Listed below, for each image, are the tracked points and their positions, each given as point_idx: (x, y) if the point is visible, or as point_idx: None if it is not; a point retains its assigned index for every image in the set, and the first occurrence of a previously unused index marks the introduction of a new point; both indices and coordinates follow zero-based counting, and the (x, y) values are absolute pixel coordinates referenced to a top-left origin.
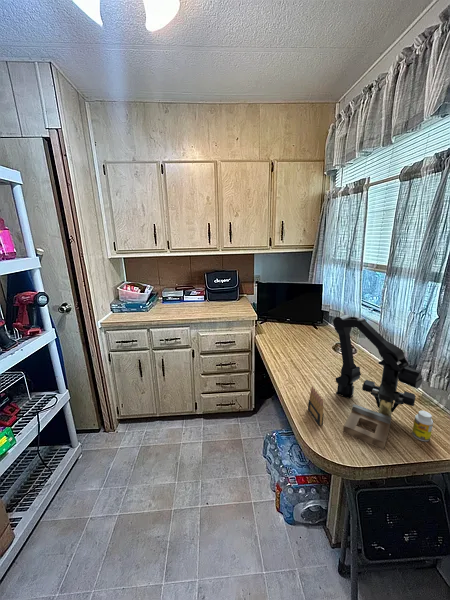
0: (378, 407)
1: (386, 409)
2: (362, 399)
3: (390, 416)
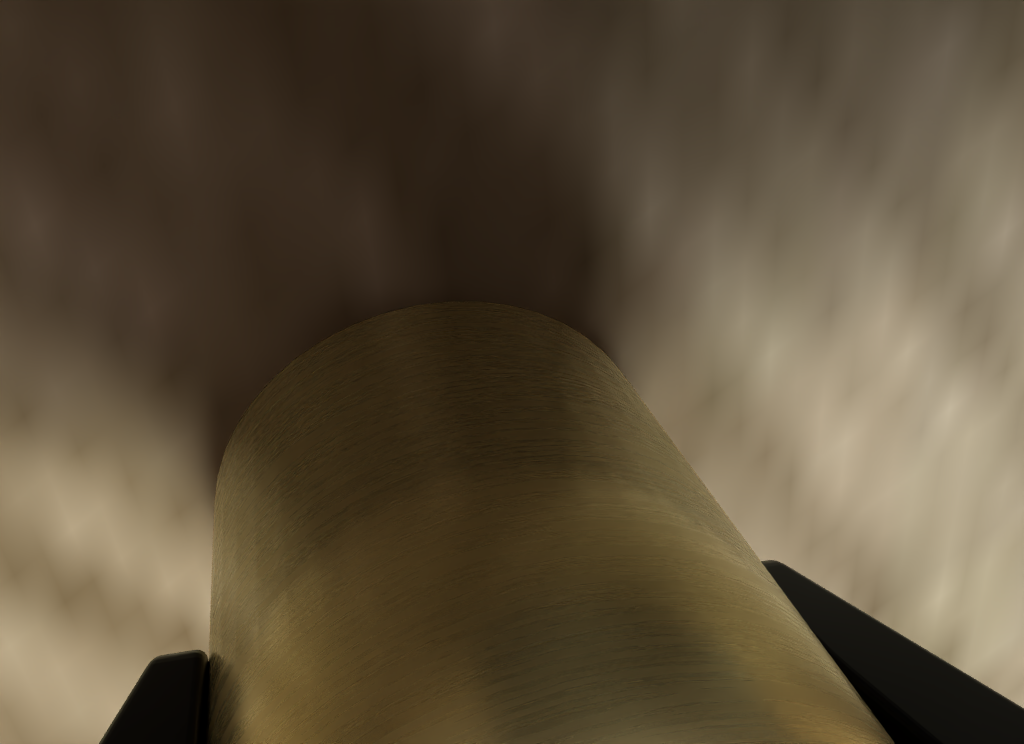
0: None
1: (471, 578)
2: None
3: (221, 473)
